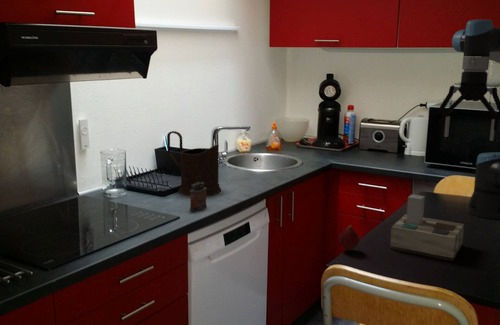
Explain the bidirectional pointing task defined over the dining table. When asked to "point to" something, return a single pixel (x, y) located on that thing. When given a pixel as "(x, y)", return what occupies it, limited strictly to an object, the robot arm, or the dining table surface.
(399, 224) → the socket board
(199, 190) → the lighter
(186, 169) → the dark brown mug
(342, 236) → the onion
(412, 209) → the plug
